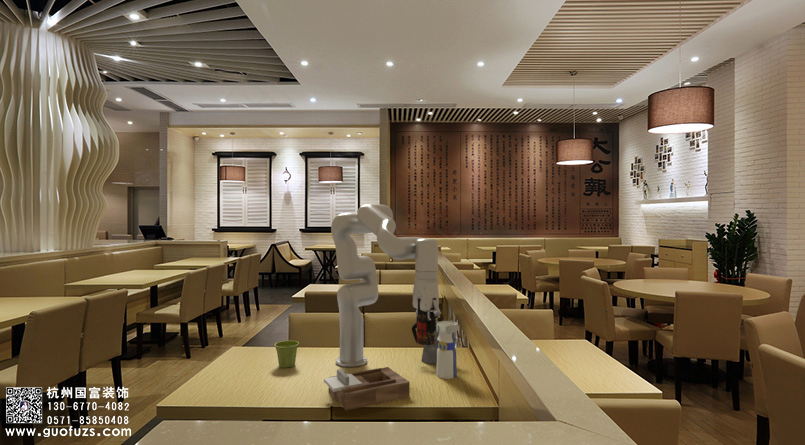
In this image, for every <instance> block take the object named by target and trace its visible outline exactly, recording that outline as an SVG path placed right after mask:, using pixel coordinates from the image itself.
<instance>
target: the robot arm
mask: <svg viewBox="0 0 805 445" xmlns="http://www.w3.org/2000/svg"><path fill="white" fill-rule="evenodd" d="M330 227H331V229H330V230H331V231H330V232H331V237H332V239H333V243H334V248H335V252H336V253H335V255H336V264H337V272H338V275H339V276H338V277H339V278H340V279H341V280H343V281H353V280H355V281H356V280H360V282H353V283H346V284H344V285H342V286H340V287H339V288H338V290H337V292H336V299H337V305H338V310H339V312H338V313H339V314H338V315H339V356H338V357H337V358H336V359H335V364H336V365H338V366H340V367H344V368H345V367H347V368H355V367H361V366H364V365H366V364H367V362H368V358H367V357H366V356H365V355H364V315H363V313H362V312H361V310H360V308H359V307H364V306H370V305H374V304H375V303H376V302H377V300H378V298H379V284H378V276H377V275H378V274H377V270H376V269H377V268H376V264H375V262H374V261H373V260H374V259H372V257H370V256H368V255H359V254H358V249H357V244H356V242H355V240H354V239H353V237H352V236H351V235H363V234H364V235H365V234H371V233H372V234H374V235H375V236H376V242H377V245H378V247H379V248H380V250H381V252H383V253H384V254H386V255H387V256H388V257H390V258H391V259H394V260H395V261H396V260H399V261H401V260H412V259H415V261H414V262H415V263H414V264H415V266H414V267H415V268H414V269H415V270H414V271H415V274H414V275H415V276H414V282H413V287H412V288H413V290H412V307H413V308H414V309H415V316H417V308H418V299H421V301H420V302H421V303H420V310H422V311H424V312H427V316H428V320H427V332H435V331H436V321H437V320H438V317H437V316H438V314H439V313H441V310H440V307H439V305H440V298H439V297H440V296H439V294H440V293H439V284H438V283H439V282H438V278H439V274H438V272H439V270H438V269H439V268H438V267H439V242H438V240H437V239H435V238H423V237H420V236H404V237H403V236H402V237H401V236H400V237H397V236H396V235H395V234H394V233H395V231H396V228H397V226H396V221H395V220H394V214H393V210H392V208H391V207H390V206H388V205H386V204H379V203H378V204H377V203H375V204H374V203H368V204H367V203H366V204H363V205H361V206H360V207H359V208H358V209H357V211H356V212H344V213H340V214H337V215H336V216H335V217H334V218H333V219H332V222H331V226H330ZM431 308H433V310H430V309H431ZM430 312H433V313H432V314H431V315H430ZM416 327H417V318H416Z"/></svg>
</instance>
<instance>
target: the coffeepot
mask: <svg viewBox="0 0 805 445" xmlns="http://www.w3.org/2000/svg"><path fill="white" fill-rule="evenodd" d="M438 322H439V321H437V320H436V331H435V343H434V344H432V345H423V350H422V355H421V362H422V363H425V364H427V365H437V350H438V340H437V338H438V337H439V328H438V333H437V323H438ZM411 333H412V336H413V338H414V341H415V344H418V343H417V327H416V323H414V324H413V325H412V326H411Z"/></svg>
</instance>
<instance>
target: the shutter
mask: <svg viewBox="0 0 805 445" xmlns="http://www.w3.org/2000/svg"><path fill="white" fill-rule="evenodd" d="M335 376H336V377H332V376H329V377H330V378H329V377H325V378H324V377H323V383H324V384H326V386H327V387H328V389H329V388H330V389H331V390H332V391H333V392H336V391H341V390H342V388H347V387H352V386H358V385H362V382H360V381H359V380H358V379H357V378H356V377H355V376H353V375H352V374H349V373H345V372H344V371H343V370H342V369H341V368H338V369H336V375H335Z"/></svg>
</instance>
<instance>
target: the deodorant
mask: <svg viewBox="0 0 805 445" xmlns="http://www.w3.org/2000/svg"><path fill="white" fill-rule="evenodd" d="M420 301H421V299H418V308H417V315H416V319H417V328H416V332H417V343H416V344H418V345H421V346H424V345H432V344H434V343H435V332H427V320H428V316H427V312H424V311H422V310H420V303H421V302H420ZM430 310H433V308H431V309H430ZM432 313H433V312H430V315H431V314H432Z"/></svg>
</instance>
